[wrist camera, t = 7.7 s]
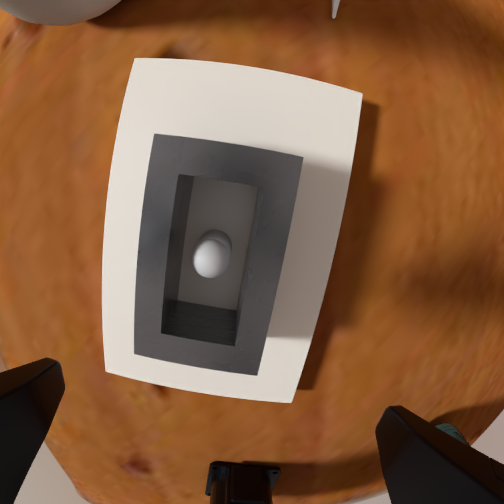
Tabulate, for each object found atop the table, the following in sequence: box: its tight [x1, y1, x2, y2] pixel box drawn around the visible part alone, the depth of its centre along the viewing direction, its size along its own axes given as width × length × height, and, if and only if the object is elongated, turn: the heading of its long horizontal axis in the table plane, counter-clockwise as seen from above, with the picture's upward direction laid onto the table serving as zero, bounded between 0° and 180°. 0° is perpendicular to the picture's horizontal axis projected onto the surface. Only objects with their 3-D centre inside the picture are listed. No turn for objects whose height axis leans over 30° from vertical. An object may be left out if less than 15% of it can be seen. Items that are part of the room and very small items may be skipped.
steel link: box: [134, 134, 304, 376], centre depth 14 cm, size 10×6×4 cm, turn 170°
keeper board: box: [102, 58, 362, 403], centre depth 15 cm, size 20×13×5 cm, turn 170°
